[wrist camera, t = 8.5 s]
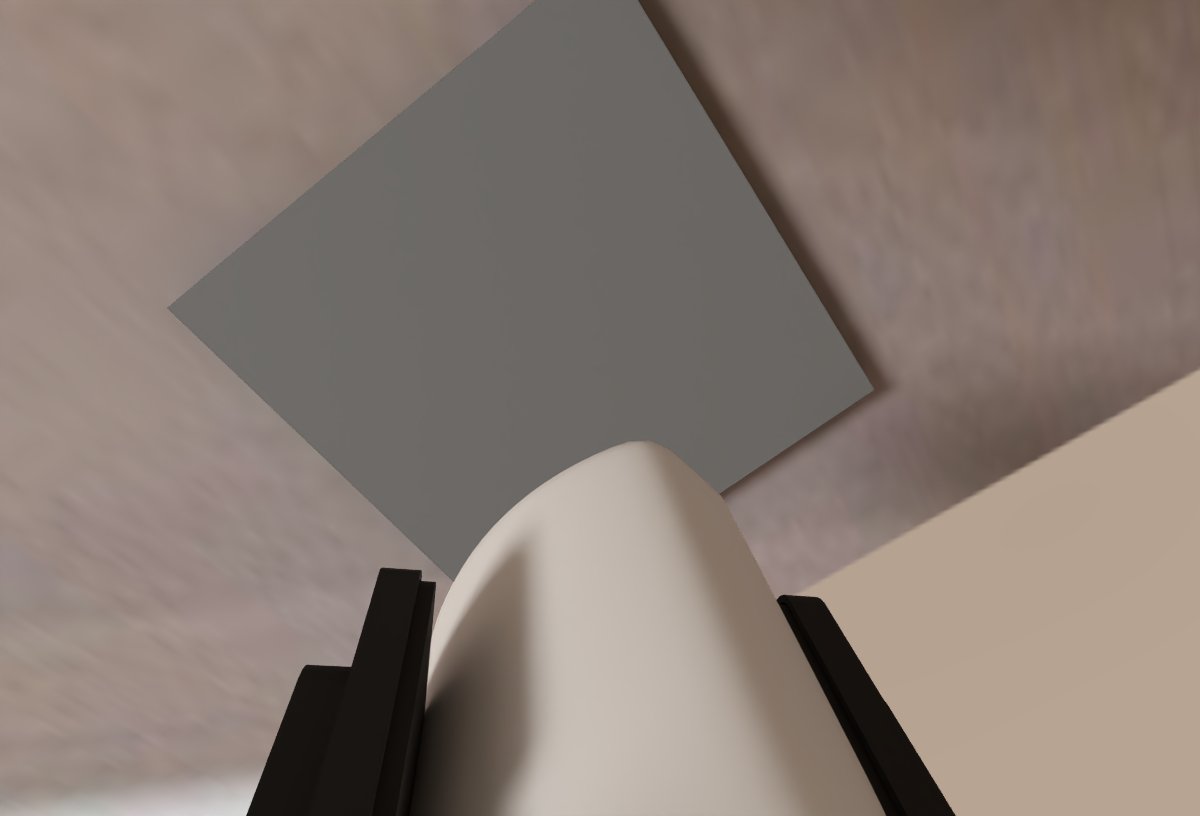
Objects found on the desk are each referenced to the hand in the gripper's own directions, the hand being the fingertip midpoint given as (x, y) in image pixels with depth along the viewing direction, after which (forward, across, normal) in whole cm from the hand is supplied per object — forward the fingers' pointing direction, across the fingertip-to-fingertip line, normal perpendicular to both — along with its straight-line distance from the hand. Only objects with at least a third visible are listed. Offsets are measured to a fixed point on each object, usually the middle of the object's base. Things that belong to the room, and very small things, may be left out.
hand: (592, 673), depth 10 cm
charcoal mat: (+15, 0, 0) cm, 15 cm away
